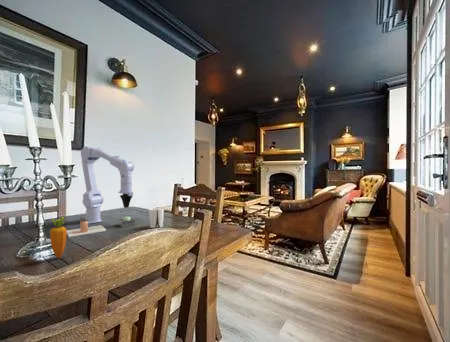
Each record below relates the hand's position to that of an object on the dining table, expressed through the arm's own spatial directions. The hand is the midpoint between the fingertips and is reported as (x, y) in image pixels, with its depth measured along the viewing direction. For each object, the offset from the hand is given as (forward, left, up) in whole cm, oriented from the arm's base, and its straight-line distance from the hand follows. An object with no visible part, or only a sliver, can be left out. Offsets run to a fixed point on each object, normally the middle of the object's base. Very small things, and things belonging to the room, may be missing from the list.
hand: (126, 207), depth 128 cm
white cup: (+14, +11, -10) cm, 21 cm away
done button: (0, 0, -9) cm, 10 cm away
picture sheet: (0, -20, -10) cm, 22 cm away
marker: (+2, -21, -9) cm, 23 cm away
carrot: (+31, -34, -10) cm, 47 cm away
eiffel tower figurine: (+26, +7, -11) cm, 29 cm away
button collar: (0, 0, -10) cm, 10 cm away
